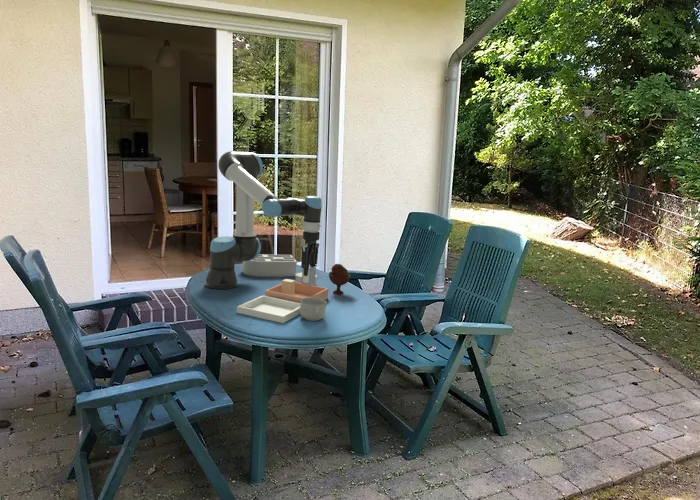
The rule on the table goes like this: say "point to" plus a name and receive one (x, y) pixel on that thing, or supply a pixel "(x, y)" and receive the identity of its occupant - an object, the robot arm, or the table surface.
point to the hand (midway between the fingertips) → (308, 281)
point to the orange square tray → (298, 292)
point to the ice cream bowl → (339, 277)
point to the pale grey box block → (310, 276)
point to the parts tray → (270, 309)
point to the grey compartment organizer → (270, 266)
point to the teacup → (312, 308)
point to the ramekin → (299, 277)
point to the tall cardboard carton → (288, 287)
